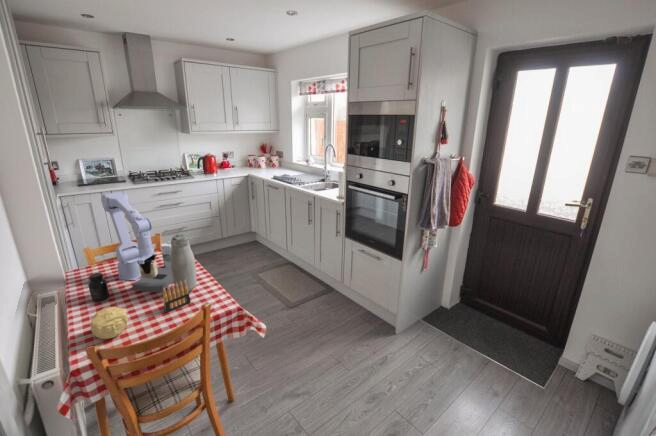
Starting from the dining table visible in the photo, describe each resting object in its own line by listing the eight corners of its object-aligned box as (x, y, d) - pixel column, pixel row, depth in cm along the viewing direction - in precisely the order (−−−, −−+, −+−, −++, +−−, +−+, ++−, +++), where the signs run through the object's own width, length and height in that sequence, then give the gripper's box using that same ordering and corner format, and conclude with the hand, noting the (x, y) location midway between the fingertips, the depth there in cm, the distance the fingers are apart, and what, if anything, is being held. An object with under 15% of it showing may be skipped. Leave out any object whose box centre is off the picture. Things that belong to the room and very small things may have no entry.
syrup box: (180, 265, 178) (176, 241, 174) (174, 270, 173) (170, 245, 168) (170, 265, 179) (166, 241, 174) (164, 270, 173) (160, 245, 169)
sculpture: (99, 348, 116) (92, 322, 113) (89, 333, 123) (83, 309, 120) (133, 333, 124) (128, 309, 121) (123, 320, 132) (118, 297, 128)
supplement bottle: (113, 296, 148) (108, 272, 145) (99, 304, 142) (93, 280, 138) (102, 293, 150) (97, 270, 147) (88, 301, 144) (82, 277, 141)
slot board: (133, 289, 154) (132, 284, 153) (156, 272, 171) (156, 267, 170) (160, 292, 152) (159, 287, 151) (181, 274, 169) (180, 269, 168)
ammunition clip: (166, 313, 136) (162, 288, 133) (164, 311, 138) (160, 287, 134) (190, 303, 144) (187, 279, 140) (188, 301, 145) (185, 277, 141)
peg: (141, 278, 151) (138, 264, 148) (144, 274, 154) (142, 260, 152) (155, 277, 152) (152, 263, 149) (158, 273, 155) (155, 259, 153)
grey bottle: (201, 289, 155) (195, 235, 146) (180, 297, 148) (172, 241, 139) (192, 282, 161) (185, 230, 153) (171, 290, 154) (163, 235, 145)
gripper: (148, 250, 142) (153, 278, 146) (159, 238, 156) (163, 263, 160) (131, 251, 141) (136, 279, 145) (143, 239, 154) (147, 264, 159)
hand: (149, 271), depth 152 cm, fingers closed on peg, 4 cm apart
